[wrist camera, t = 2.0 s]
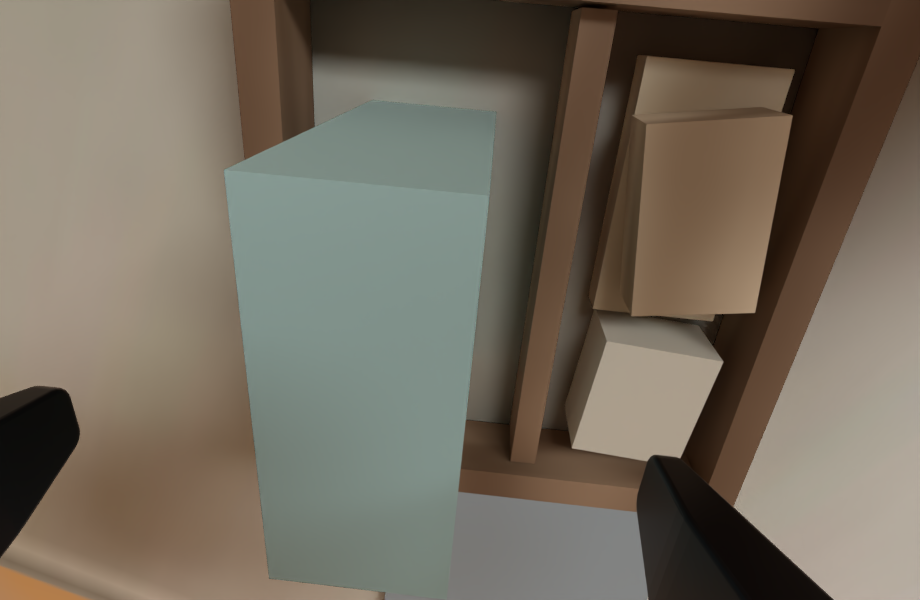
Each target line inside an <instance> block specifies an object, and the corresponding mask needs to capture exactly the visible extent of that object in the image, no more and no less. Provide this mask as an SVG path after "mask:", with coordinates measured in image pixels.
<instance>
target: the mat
mask: <svg viewBox="0 0 920 600" xmlns="http://www.w3.org/2000/svg"><path fill="white" fill-rule="evenodd" d="M647 597H648V592H647V585H646V577H645V570H644V562H643V555H642V547H641V540H640V532H639V525H638V517H637V512H631V511H622V510H613V509H604V508H596V507H587V506H578V505H569V504H560V503H552V502H543V501H534V500H525V499H516V498H508V497H499V496H490V495H481V494H472V493H464V492H458V498H457V507H456V517H455V526H454V536H453V545H452V554H451V564H450V573H449V583H448V592H447V600H647ZM385 600H445V599H437V598H428V597H420V596H411V595H403V594H395V593H386V592H385Z"/></svg>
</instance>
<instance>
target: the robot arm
mask: <svg viewBox="0 0 920 600" xmlns="http://www.w3.org/2000/svg"><path fill="white" fill-rule="evenodd" d="M79 436H80V429H79V425H78V422H77V418H76V415H75V411H74V408H73V405H72V401H71V398H70V395H69V394H68V393H67V391H66V390H64V389H62V388H56V387H47V386H34V387H30V388H28V389H25V390H22V391H19V392H16V393H13V394H10V395H8V396H5V397H2V398H0V558H1V556H2V555H3V554H4V553H5V551H6V550H7V549H8V547H9V546H10V545H11V543H12V542H13V541H14V539H15V538H16V537H17V535H18V534H19V532H20V531H21V530H22V528H23V527H24V525H25V524H26V522H27V521H28V519H29V518H30V516H31V515H32V513H33V512H34V510H35V509H36V507H37V506H38V504H39V502H40V501H41V499H42V498H43V496H44V495H45V493H46V492H47V490H48V489H49V487H50V486H51V484H52V483H53V481H54V479H55V478H56V476H57V475H58V473H59V472H60V470H61V469H62V467H63V466H64V464H65V463H66V461H67V460H68V458H69V456H70V455H71V453H72V452H73V450H74V449H75V447H76V445H77V443H78V440H79ZM636 509H637V517H638V525H639V532H640V540H641V547H642V555H643V562H644V570H645V577H646V585H647V592H648V599H649V600H833V599H832V598H831V597H830V596H829V595H828V594H827V593H826V592H825V591H824V590H823V589H821V588H820V587H819V586H818V585H817V584H816V583H815V582H814V581H813V580H812V579H811V578H810V577H808V576H807V575H806V574H805V573H804V572H803V571H802V570H801V569H800V568H799V567H798V566H797V565H795V564H794V563H793V562H792V561H791V560H790V559H789V558H788V557H787V556H786V555H785V554H784V553H782V552H781V551H780V550H779V549H778V548H777V547H776V546H775V545H774V544H773V543H772V542H771V541H769V540H768V539H767V538H766V537H765V536H764V535H763V534H762V533H761V532H760V531H759V530H758V529H756V528H755V527H754V526H753V525H752V524H751V523H750V522H749V521H748V520H747V519H746V518H745V517H743V516H742V515H741V514H740V513H739V512H738V511H737V510H736V509H735V508H734V507H733V506H732V505H730V504H729V503H728V502H727V501H726V500H725V499H724V498H723V497H722V496H721V495H720V494H719V493H717V492H716V491H715V490H714V489H713V488H712V487H711V486H710V485H709V484H708V483H707V482H706V481H704V480H703V479H702V478H701V477H700V476H699V475H698V474H697V473H696V472H695V471H694V470H693V469H691V468H690V467H689V466H688V465H687V464H686V463H685V462H684V461H683V460H681V459H680V458H678V457H673V456H664V455H652V456H651V457H650V458H649V459H648V461H647V464H646V467H645V471H644V474H643V477H642V481H641V484H640V487H639V490H638V494H637V501H636Z"/></svg>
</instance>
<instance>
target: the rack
mask: <svg viewBox="0 0 920 600" xmlns="http://www.w3.org/2000/svg"><path fill="white" fill-rule="evenodd" d="M498 1H510V2H521V3H532V4H544V5H555V6H567V7H578V8H579V9H577V10H574V11H572V14H571V20H570V27H569V33H568V40H567V47H566V53H565V60H564V67H563V73H562V80H561V86H560V93H559V100H558V106H557V113H556V120H555V126H554V133H553V139H552V146H551V153H550V159H549V166H548V172H547V179H546V186H545V192H544V199H543V206H542V212H541V219H540V225H539V232H538V239H537V245H536V252H535V259H534V265H533V272H532V278H531V285H530V292H529V298H528V305H527V311H526V318H525V325H524V331H523V338H522V345H521V351H520V358H519V364H518V371H517V378H516V384H515V391H514V398H513V404H512V411H511V417H510V425H507V424H498V423H489V422H480V421H471V420H466V422H465V432H464V441H463V451H462V460H461V470H460V479H459V488H458V492H464V493H472V494H481V495H490V496H499V497H508V498H516V499H525V500H534V501H543V502H552V503H560V504H569V505H578V506H587V507H596V508H604V509H613V510H622V511H631V512H637V509H636V501H637V494H638V490H639V487H640V484H641V481H642V477H643V474H644V471H645V467H646V464H647V461H642V460H636V459H631V458H625V457H619V456H614V455H608V454H602V453H596V452H591V451H585V450H579V449H574V448H572V446H571V441H570V435H569V431H562V430H553V429H543V428H541V427H542V422H543V416H544V411H545V405H546V400H547V394H548V389H549V384H550V378H551V373H552V367H553V362H554V356H555V351H556V346H557V340H558V335H559V329H560V324H561V318H562V313H563V308H564V302H565V297H566V291H567V286H568V280H569V275H570V270H571V264H572V259H573V253H574V248H575V242H576V237H577V232H578V226H579V221H580V215H581V210H582V204H583V199H584V194H585V188H586V183H587V177H588V172H589V166H590V161H591V156H592V150H593V145H594V139H595V134H596V128H597V123H598V118H599V112H600V107H601V101H602V96H603V90H604V85H605V80H606V74H607V69H608V63H609V58H610V52H611V47H612V42H613V36H614V31H615V25H616V20H617V14H618V11H624V12H635V13H647V14H658V15H670V16H681V17H693V18H704V19H716V20H727V21H738V22H750V23H761V24H773V25H784V26H796V27H807V28H819V30H818V33H817V36H816V39H815V42H814V45H813V48H812V51H811V54H810V57H809V60H808V63H807V66H806V69H805V72H804V75H803V78H802V81H801V84H800V87H799V90H798V93H797V96H796V99H795V102H794V105H793V108H792V112H791V115H793V117H792V122H791V128H790V133H789V138H788V143H787V149H786V154H785V159H784V164H783V170H782V175H781V180H780V185H779V190H778V196H777V201H776V206H775V211H774V217H773V222H772V227H771V232H770V238H769V243H768V248H767V253H766V258H765V264H764V269H763V274H762V279H761V285H760V290H759V295H758V300H757V306H756V311H755V313H737V314H724V316H723V319H722V322H721V325H720V328H719V331H718V334H717V337H716V340H715V343H714V346H713V347H714V349H715V350H716V352H717V353H718V354H719V356H720V357H721V359H722V360H723V364H722V366H721V369H720V371H719V373H718V375H717V378H716V380H715V382H714V384H713V387H712V389H711V391H710V393H709V395H708V398H707V400H706V402H705V404H704V407H703V409H702V411H701V413H700V415H699V418H698V420H697V422H696V424H695V427H694V429H693V431H692V433H691V436H690V438H689V440H688V442H687V444H686V447H685V449H684V451H683V453H682V456H681V458H680V459H681V460H683V461H684V462H685V463H686V464H687V465H688V466H689V467H690V468H691V469H693V470H694V471H695V472H696V473H697V474H698V475H699V476H700V477H701V478H702V479H703V480H704V481H706V482H707V483H708V484H709V485H710V486H711V487H712V488H713V489H714V490H715V491H716V492H717V493H719V494H720V495H721V496H722V497H723V498H724V499H725V500H726V501H727V502H728V503H729V504H730V505H732V506H734V504H735V501H736V499H737V496H738V494H739V491H740V489H741V487H742V484H743V482H744V479H745V477H746V475H747V472H748V470H749V467H750V465H751V462H752V460H753V458H754V455H755V453H756V450H757V448H758V446H759V443H760V441H761V438H762V436H763V433H764V431H765V429H766V426H767V424H768V421H769V419H770V417H771V414H772V412H773V409H774V407H775V404H776V402H777V400H778V397H779V395H780V392H781V390H782V388H783V385H784V383H785V380H786V378H787V375H788V373H789V371H790V368H791V366H792V363H793V361H794V359H795V356H796V354H797V351H798V349H799V346H800V344H801V342H802V339H803V337H804V334H805V332H806V330H807V327H808V325H809V322H810V320H811V317H812V315H813V313H814V310H815V308H816V305H817V303H818V301H819V298H820V296H821V293H822V291H823V288H824V286H825V284H826V281H827V279H828V276H829V274H830V272H831V269H832V267H833V264H834V262H835V259H836V257H837V255H838V252H839V250H840V247H841V245H842V242H843V240H844V238H845V235H846V233H847V230H848V228H849V226H850V223H851V221H852V218H853V216H854V213H855V211H856V209H857V206H858V204H859V201H860V199H861V197H862V194H863V192H864V189H865V187H866V184H867V182H868V180H869V177H870V175H871V172H872V170H873V168H874V165H875V163H876V160H877V158H878V155H879V153H880V151H881V148H882V146H883V143H884V141H885V139H886V136H887V134H888V131H889V129H890V126H891V124H892V122H893V119H894V117H895V114H896V112H897V110H898V107H899V105H900V102H901V100H902V97H903V95H904V93H905V90H906V88H907V85H908V83H909V81H910V78H911V76H912V73H913V71H914V68H915V66H916V64H917V61H918V59H919V56H920V0H498ZM230 7H231V18H232V29H233V39H234V50H235V61H236V71H237V82H238V93H239V103H240V114H241V125H242V136H243V146H244V157H245V160H246V159H248V158H250V157H252V156H254V155H256V154H259V153H261V152H263V151H265V150H267V149H269V148H271V147H273V146H276V145H278V144H280V143H282V142H284V141H286V140H288V139H290V138H293V137H295V136H297V135H299V134H301V133H303V132H305V131H307V130H310V129H312V128H314V101H313V73H312V46H311V18H310V0H230Z"/></svg>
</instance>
